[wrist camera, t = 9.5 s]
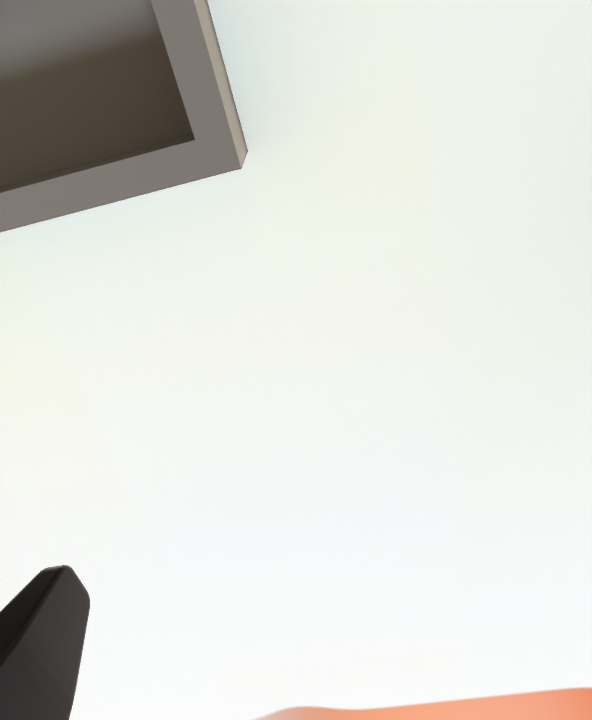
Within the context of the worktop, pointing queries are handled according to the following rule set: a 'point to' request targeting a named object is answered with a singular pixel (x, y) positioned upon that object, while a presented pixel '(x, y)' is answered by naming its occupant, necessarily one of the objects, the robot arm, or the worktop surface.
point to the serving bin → (109, 103)
